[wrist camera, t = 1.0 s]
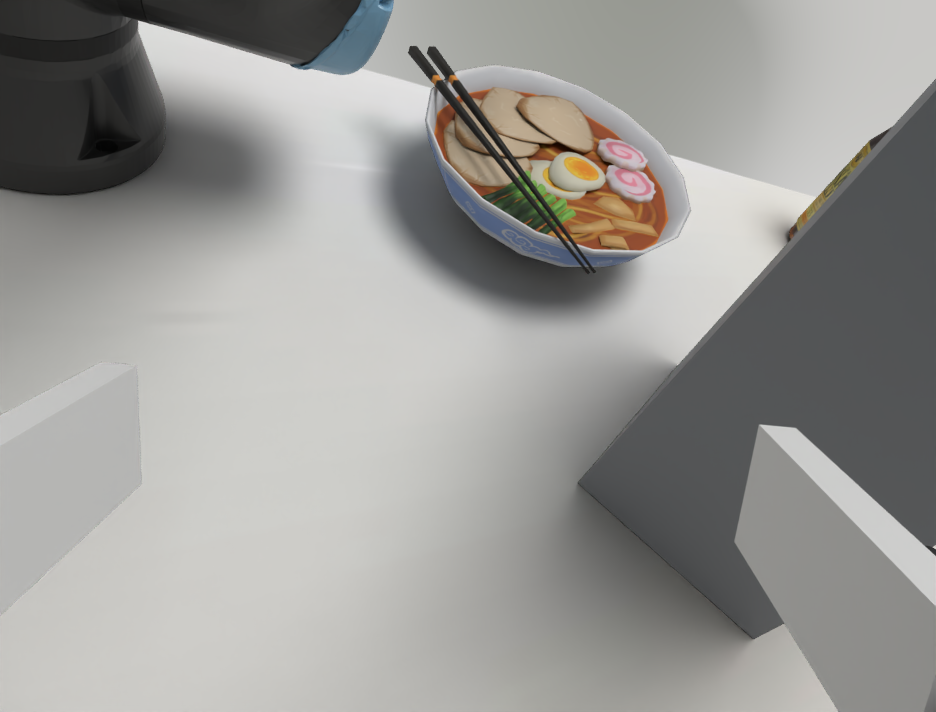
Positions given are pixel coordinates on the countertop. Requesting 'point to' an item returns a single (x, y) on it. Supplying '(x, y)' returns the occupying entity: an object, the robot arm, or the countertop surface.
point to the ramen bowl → (550, 165)
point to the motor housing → (800, 378)
